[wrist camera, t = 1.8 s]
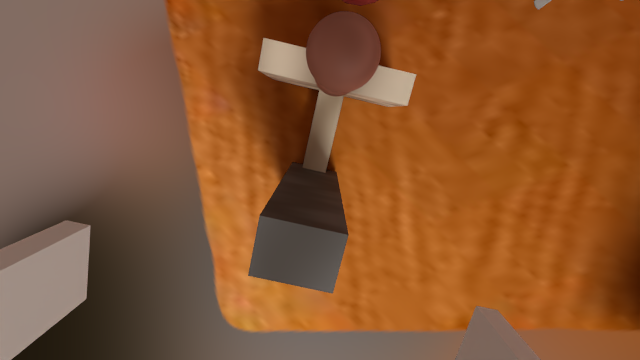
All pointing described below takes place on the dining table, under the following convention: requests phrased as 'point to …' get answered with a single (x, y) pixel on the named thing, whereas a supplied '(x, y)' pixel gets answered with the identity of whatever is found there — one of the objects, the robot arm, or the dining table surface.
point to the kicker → (320, 148)
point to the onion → (359, 2)
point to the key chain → (542, 3)
